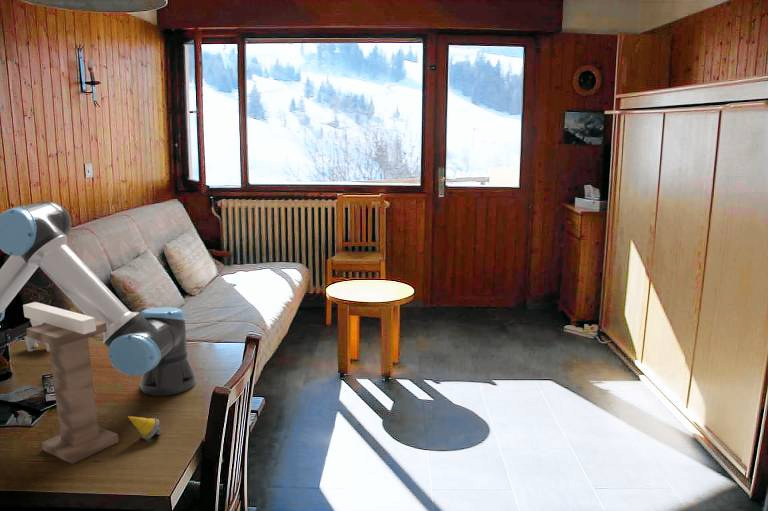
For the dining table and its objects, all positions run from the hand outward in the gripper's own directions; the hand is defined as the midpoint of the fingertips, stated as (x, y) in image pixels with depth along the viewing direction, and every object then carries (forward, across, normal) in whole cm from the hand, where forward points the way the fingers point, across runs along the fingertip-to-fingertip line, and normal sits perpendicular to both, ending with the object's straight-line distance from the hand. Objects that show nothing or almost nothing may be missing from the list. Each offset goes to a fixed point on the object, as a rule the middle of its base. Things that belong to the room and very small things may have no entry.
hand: (16, 322), depth 164 cm
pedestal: (+6, 0, -34) cm, 35 cm away
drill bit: (+15, -11, -40) cm, 44 cm away
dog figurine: (-57, -33, +1) cm, 65 cm away
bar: (+18, 0, -7) cm, 19 cm away
